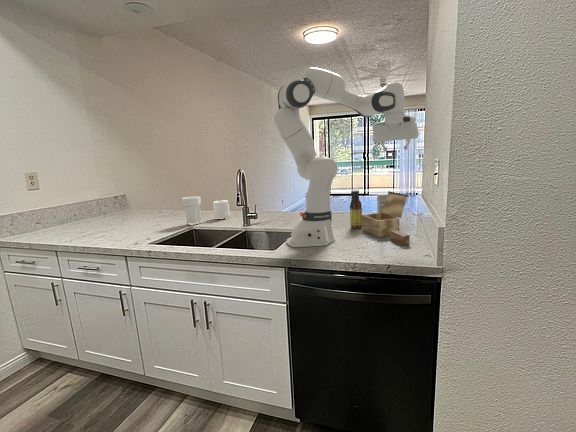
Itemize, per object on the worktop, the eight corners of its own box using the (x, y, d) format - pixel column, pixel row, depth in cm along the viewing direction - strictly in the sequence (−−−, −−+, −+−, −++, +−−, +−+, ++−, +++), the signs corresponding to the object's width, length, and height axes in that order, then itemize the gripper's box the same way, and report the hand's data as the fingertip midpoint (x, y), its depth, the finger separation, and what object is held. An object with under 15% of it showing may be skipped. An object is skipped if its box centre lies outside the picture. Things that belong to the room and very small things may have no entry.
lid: (406, 194, 152) (408, 195, 152) (388, 191, 168) (390, 191, 168) (399, 217, 153) (401, 218, 154) (382, 212, 169) (383, 212, 170)
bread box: (377, 237, 153) (377, 220, 151) (362, 229, 169) (362, 214, 167) (399, 234, 155) (399, 218, 153) (382, 227, 171) (382, 212, 169)
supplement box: (397, 226, 170) (396, 194, 167) (378, 226, 171) (378, 194, 169) (394, 223, 179) (394, 192, 177) (377, 223, 181) (376, 193, 178)
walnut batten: (403, 246, 137) (403, 236, 136) (390, 240, 147) (390, 231, 146) (409, 245, 138) (409, 235, 137) (396, 240, 148) (396, 230, 147)
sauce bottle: (355, 225, 180) (354, 189, 176) (364, 227, 175) (364, 190, 171) (347, 227, 175) (346, 191, 172) (357, 229, 171) (356, 191, 167)
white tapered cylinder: (214, 218, 228) (212, 200, 226) (229, 216, 230) (227, 199, 228) (214, 220, 218) (213, 202, 216) (230, 219, 221) (228, 201, 218)
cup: (181, 225, 209) (178, 198, 206) (194, 221, 219) (191, 196, 216) (193, 226, 203) (190, 198, 200) (207, 222, 213) (204, 196, 210)
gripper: (370, 122, 154) (371, 152, 157) (416, 117, 144) (417, 149, 146) (374, 123, 159) (375, 151, 162) (418, 117, 149) (419, 148, 152)
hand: (395, 150), depth 154 cm, fingers open, 8 cm apart
